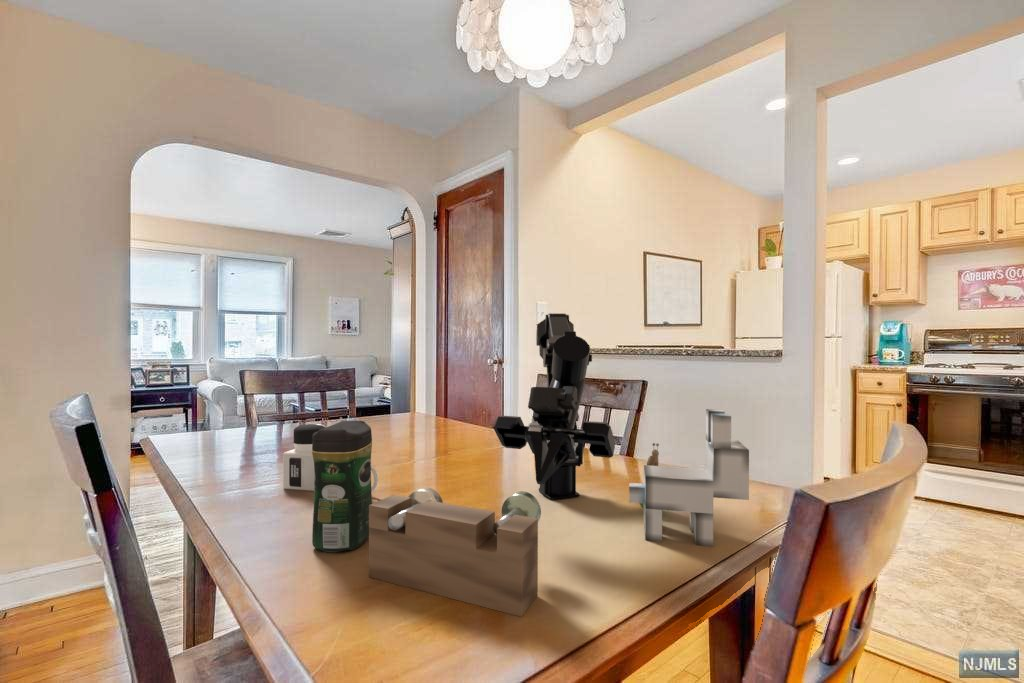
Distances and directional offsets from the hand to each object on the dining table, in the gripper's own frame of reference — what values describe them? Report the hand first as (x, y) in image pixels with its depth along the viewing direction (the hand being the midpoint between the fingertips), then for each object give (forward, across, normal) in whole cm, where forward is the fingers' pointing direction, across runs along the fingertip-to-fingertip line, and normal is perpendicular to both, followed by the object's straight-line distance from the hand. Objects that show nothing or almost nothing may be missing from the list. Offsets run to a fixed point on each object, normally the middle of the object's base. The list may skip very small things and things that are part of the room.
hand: (539, 482), depth 72 cm
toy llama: (-4, +19, +19) cm, 27 cm away
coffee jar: (+13, -30, +2) cm, 32 cm away
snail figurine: (-11, +12, +26) cm, 31 cm away
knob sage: (+10, 0, -3) cm, 10 cm away
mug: (0, -45, +14) cm, 47 cm away
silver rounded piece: (+13, -13, -5) cm, 19 cm away
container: (-1, -58, +16) cm, 60 cm away
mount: (+17, -7, -2) cm, 18 cm away
